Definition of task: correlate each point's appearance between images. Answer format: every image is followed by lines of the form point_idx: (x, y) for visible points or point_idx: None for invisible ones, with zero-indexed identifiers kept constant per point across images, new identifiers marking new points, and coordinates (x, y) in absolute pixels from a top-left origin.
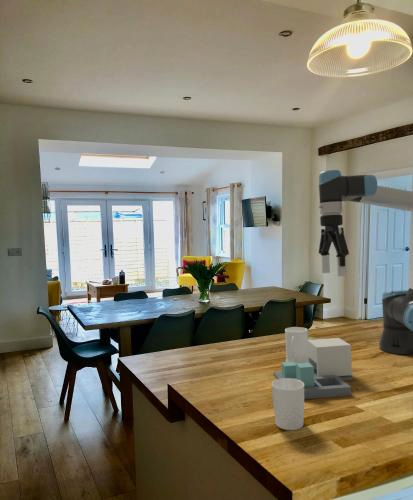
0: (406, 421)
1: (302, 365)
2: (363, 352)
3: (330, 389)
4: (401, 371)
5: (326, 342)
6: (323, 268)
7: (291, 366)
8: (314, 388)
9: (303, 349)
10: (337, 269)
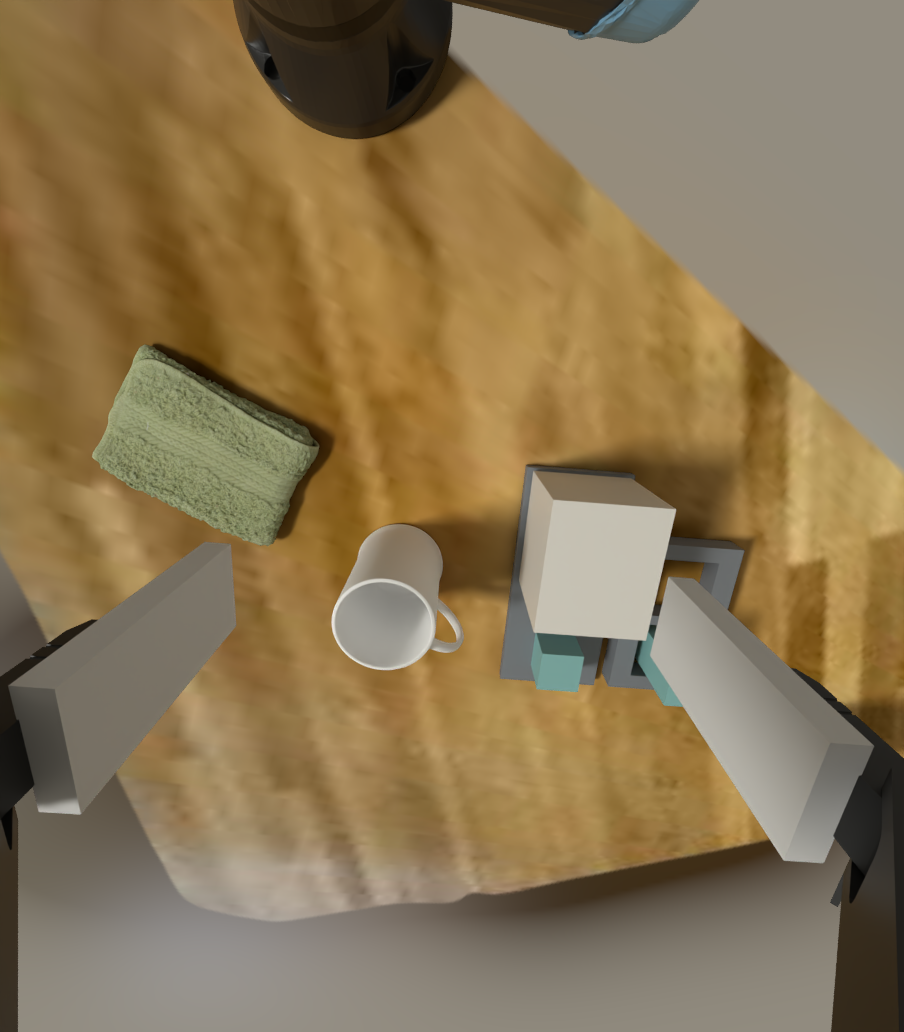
0: None
1: None
2: (351, 250)
3: (726, 605)
4: (625, 252)
5: (599, 580)
6: (208, 649)
7: (579, 671)
8: None
9: (437, 580)
10: (692, 706)
